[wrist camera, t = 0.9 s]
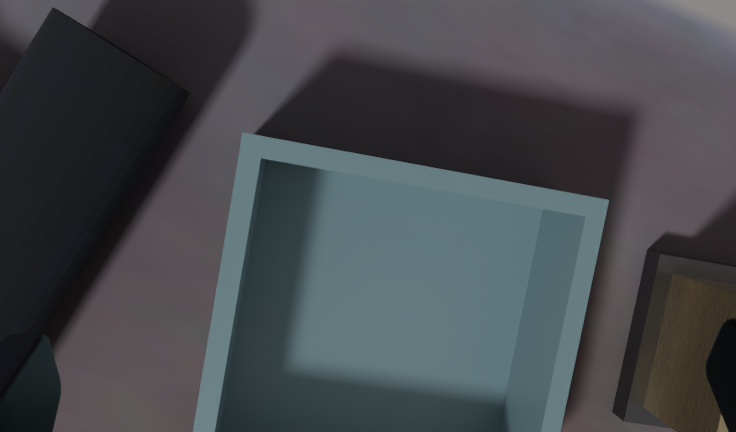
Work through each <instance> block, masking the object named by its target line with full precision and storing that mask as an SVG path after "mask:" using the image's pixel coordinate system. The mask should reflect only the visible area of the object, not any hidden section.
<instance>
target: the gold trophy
mask: <svg viewBox="0 0 736 432" xmlns="http://www.w3.org/2000/svg"><path fill="white" fill-rule="evenodd" d="M730 318H736V285H735V284H729V283H724V282H718V281H712V280H706V279H700V278H694V277H689V276H683V275H677V274H673V275H672V279H671V284H670V288H669V293H668V297H667V302H666V307H665V311H664V316H663V320H662V325H661V329H660V334H659V338H658V343H657V348H656V352H655V357H654V361H653V366H652V370H651V375H650V379H649V384H648V389H647V393H646V398H645V402H644V408H645V409H646V410H648V411H649V412H651V413H652V414H653V415H655V416H656V417H657V418H659V419H660V420H661V421H663V422H664V423H665V424H667V425H668V426H669V427H671V428H672V429H674V430H675V431H676V432H728V429H727V427H726V424H725V422H724V419H723V417H722V415H721V412H720V410H719V407H718V405H717V402H716V400H715V397H714V395H713V392H712V390H711V387H710V385H709V382H708V380H707V376H706V368H705V366H706V360H707V357H708V355H709V353H710V350H711V348H712V346H713V343H714V341H715V339H716V336H717V334H718V332H719V329H720V327H721V325H722V323H724V322H725V321H726V320H727V319H730Z"/></svg>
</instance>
